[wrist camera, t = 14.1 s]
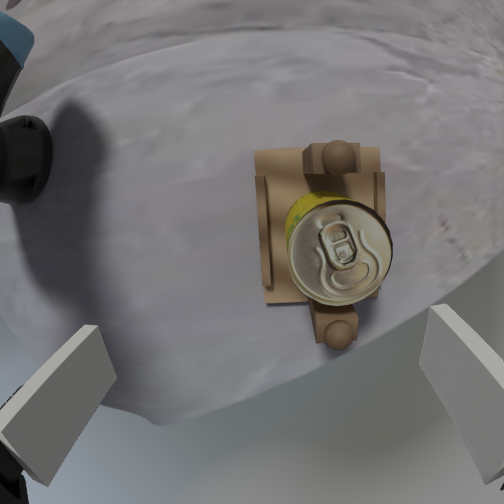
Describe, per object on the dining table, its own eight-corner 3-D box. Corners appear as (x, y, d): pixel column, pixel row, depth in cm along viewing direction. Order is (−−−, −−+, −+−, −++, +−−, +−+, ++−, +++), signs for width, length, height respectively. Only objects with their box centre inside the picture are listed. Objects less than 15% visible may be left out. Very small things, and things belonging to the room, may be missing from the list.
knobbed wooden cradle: (254, 151, 35) (239, 138, 21) (376, 148, 33) (428, 138, 19) (265, 299, 39) (257, 362, 26) (375, 293, 38) (414, 349, 24)
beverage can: (305, 276, 37) (316, 322, 25) (270, 212, 35) (266, 232, 24) (369, 243, 35) (406, 275, 23) (337, 177, 33) (366, 180, 22)
